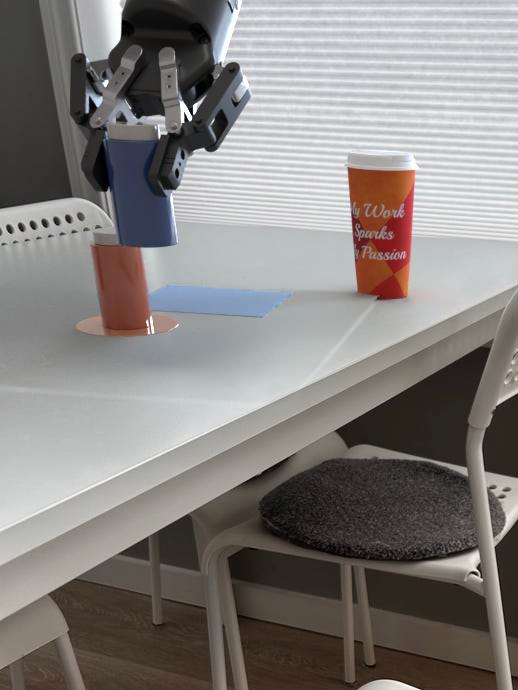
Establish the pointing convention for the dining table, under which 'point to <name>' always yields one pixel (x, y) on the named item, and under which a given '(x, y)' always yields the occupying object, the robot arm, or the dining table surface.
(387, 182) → the paper cup
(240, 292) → the blue mat
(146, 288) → the red shaker
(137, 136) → the blue shaker
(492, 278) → the dining table surface
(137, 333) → the terracotta coaster
